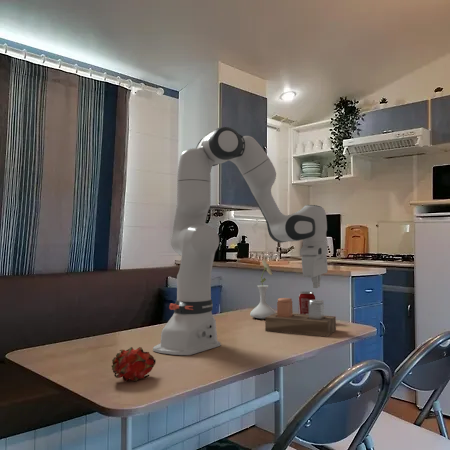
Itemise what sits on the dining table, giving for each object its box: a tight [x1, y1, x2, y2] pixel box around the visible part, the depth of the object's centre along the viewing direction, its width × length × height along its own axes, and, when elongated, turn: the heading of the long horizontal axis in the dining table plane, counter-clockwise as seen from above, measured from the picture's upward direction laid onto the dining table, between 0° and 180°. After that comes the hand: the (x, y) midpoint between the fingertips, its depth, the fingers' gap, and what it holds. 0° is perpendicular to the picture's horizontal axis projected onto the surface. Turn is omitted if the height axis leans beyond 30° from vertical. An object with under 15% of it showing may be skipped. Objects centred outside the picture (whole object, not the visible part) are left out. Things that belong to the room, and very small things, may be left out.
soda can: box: [297, 290, 316, 315], centre depth 181 cm, size 7×7×12 cm
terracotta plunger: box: [276, 297, 294, 318], centre depth 167 cm, size 5×5×7 cm
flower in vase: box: [249, 259, 277, 320], centre depth 193 cm, size 13×11×25 cm
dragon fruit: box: [111, 346, 157, 382], centre depth 108 cm, size 8×8×12 cm
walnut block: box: [264, 312, 337, 337], centre depth 164 cm, size 12×23×5 cm, turn 63°
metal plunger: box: [309, 299, 325, 320], centre depth 161 cm, size 5×5×7 cm
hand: (316, 287), depth 162 cm, fingers closed
